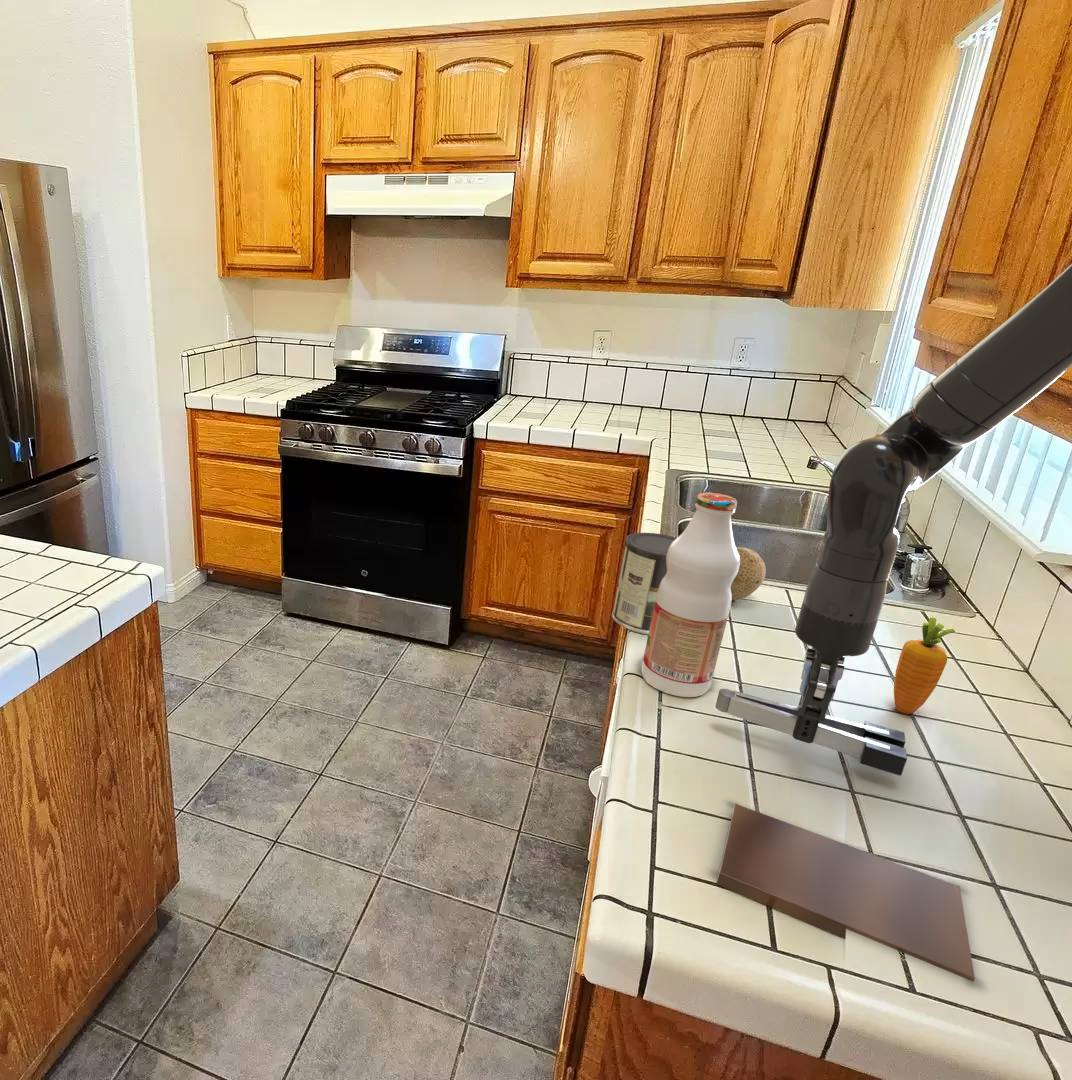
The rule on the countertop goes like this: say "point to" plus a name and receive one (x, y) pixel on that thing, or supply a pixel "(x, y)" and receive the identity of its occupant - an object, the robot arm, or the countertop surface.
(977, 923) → the countertop surface
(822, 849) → the board
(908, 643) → the carrot
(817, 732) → the tongs
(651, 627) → the fruit juice
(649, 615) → the coffee can
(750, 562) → the natural sponge
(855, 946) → the countertop surface
